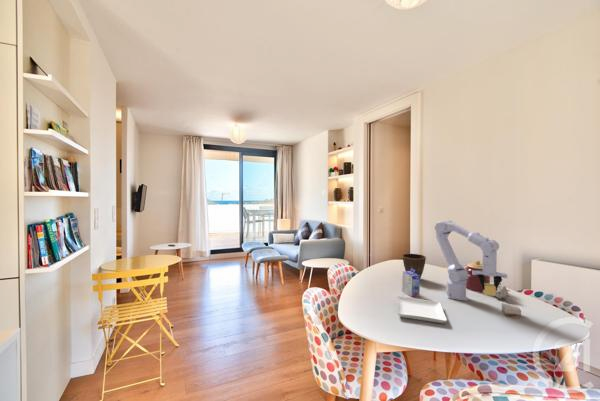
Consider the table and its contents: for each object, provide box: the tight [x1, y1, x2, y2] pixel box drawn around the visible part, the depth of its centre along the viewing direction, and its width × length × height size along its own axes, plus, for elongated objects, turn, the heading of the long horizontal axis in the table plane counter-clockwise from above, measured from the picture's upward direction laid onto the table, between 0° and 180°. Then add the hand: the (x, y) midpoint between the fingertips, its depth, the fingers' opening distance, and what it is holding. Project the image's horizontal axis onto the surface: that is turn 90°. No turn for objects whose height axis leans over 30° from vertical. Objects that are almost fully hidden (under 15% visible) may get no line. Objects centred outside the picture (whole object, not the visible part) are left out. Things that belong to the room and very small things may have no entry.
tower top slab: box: [501, 302, 522, 316], centre depth 126 cm, size 6×6×2 cm
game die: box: [493, 282, 510, 301], centre depth 145 cm, size 9×8×10 cm
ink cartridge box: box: [401, 268, 421, 298], centre depth 153 cm, size 10×6×14 cm, turn 12°
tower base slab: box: [501, 308, 522, 319], centre depth 126 cm, size 6×6×2 cm
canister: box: [464, 260, 491, 293], centre depth 160 cm, size 13×13×18 cm
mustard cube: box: [482, 283, 496, 297], centre depth 133 cm, size 4×4×4 cm
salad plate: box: [396, 296, 448, 324], centre depth 128 cm, size 21×21×3 cm
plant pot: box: [401, 253, 427, 279], centre depth 179 cm, size 15×15×16 cm
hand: (489, 290), depth 133 cm, fingers closed on mustard cube, 4 cm apart
